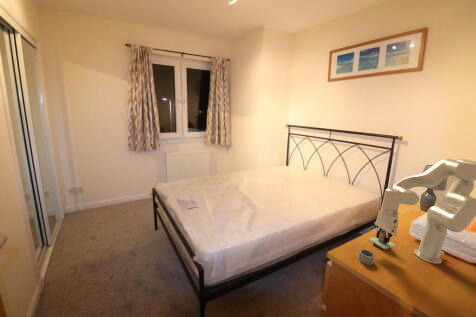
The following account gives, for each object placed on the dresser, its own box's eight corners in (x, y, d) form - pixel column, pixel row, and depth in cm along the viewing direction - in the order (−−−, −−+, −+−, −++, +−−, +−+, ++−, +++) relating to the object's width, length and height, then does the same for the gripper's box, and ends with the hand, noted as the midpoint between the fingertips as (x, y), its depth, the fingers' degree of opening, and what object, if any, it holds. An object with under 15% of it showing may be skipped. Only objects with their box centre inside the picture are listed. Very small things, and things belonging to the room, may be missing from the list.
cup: (365, 255, 129) (367, 248, 128) (376, 264, 122) (377, 257, 121) (355, 256, 127) (356, 249, 126) (364, 265, 121) (366, 258, 120)
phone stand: (383, 250, 136) (388, 232, 134) (372, 245, 140) (377, 227, 138) (387, 244, 143) (391, 227, 140) (376, 240, 147) (381, 223, 144)
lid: (379, 236, 135) (382, 226, 133) (395, 246, 126) (398, 235, 125) (368, 239, 131) (370, 229, 130) (384, 249, 123) (386, 238, 121)
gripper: (408, 217, 117) (401, 248, 121) (382, 203, 133) (376, 231, 137) (397, 218, 115) (389, 250, 119) (371, 204, 131) (365, 232, 135)
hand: (382, 240), depth 128 cm, fingers closed on lid, 4 cm apart
